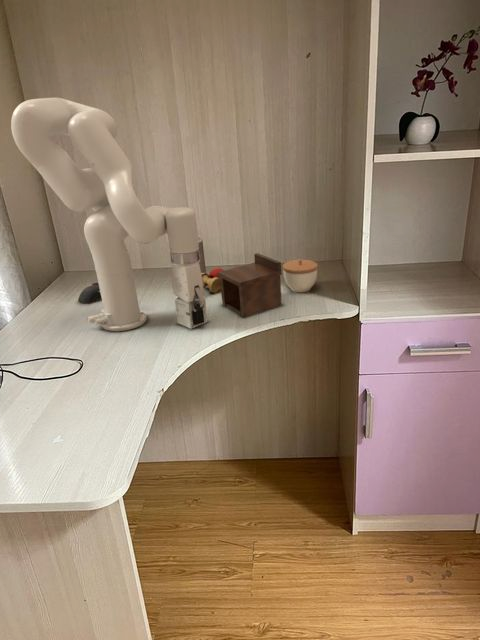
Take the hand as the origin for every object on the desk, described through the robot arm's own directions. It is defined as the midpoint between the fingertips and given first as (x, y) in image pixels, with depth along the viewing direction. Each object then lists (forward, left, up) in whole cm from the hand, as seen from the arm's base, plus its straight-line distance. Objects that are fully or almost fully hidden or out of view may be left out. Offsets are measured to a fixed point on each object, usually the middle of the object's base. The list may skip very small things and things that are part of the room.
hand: (192, 318), depth 146 cm
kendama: (+14, +19, -2) cm, 24 cm away
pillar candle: (+16, +32, -2) cm, 36 cm away
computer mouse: (-13, +43, -2) cm, 45 cm away
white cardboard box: (0, 0, -1) cm, 1 cm away
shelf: (+19, 0, -1) cm, 19 cm away
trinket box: (+38, +1, -2) cm, 38 cm away
